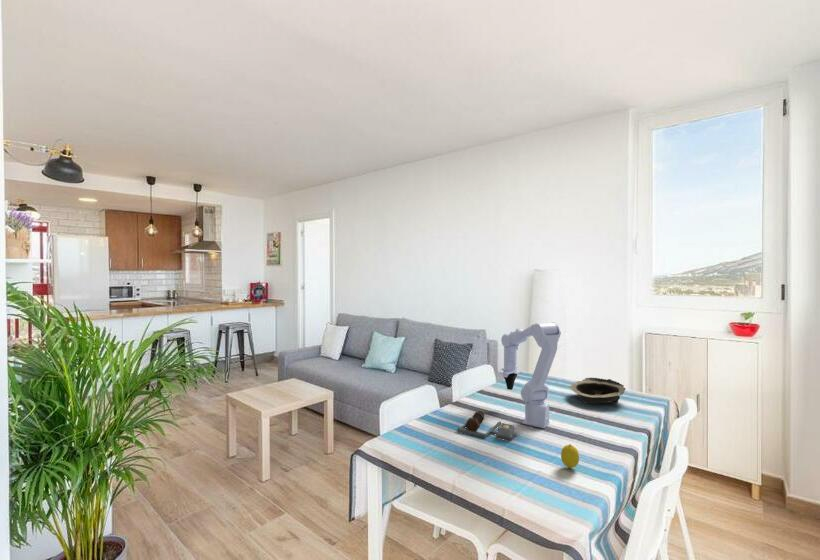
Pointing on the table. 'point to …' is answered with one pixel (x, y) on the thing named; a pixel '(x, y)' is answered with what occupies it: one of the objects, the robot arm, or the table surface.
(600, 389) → the stone bowl
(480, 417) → the bolt
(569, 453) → the lemon
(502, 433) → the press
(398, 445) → the table surface
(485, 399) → the table surface
